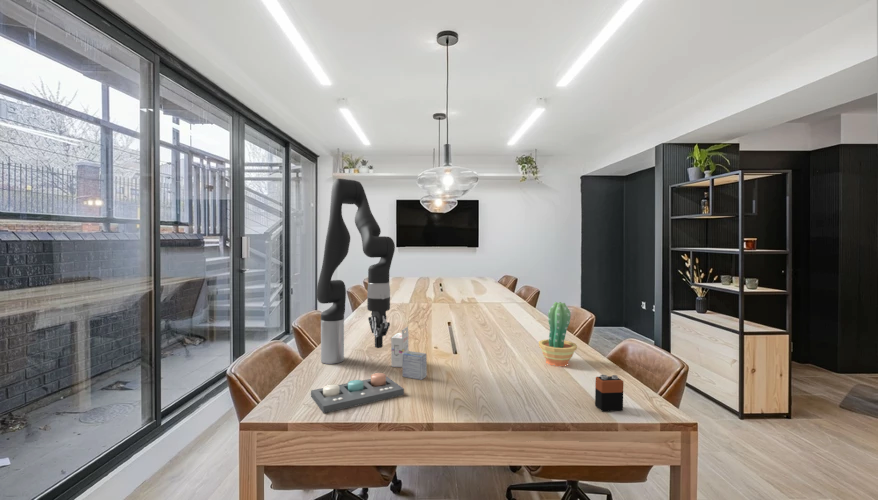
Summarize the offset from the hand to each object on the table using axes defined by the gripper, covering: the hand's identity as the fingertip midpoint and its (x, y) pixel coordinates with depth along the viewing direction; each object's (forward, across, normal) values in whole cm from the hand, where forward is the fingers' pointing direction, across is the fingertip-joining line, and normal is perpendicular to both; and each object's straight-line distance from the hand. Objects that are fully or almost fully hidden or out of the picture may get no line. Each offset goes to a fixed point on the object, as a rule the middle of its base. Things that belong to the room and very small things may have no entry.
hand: (378, 347), depth 131 cm
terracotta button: (+13, 0, 0) cm, 13 cm away
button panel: (+14, +2, -8) cm, 16 cm away
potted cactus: (+14, +12, +74) cm, 76 cm away
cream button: (+13, 0, -16) cm, 21 cm away
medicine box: (+14, -4, +16) cm, 22 cm away
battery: (+14, +50, +53) cm, 74 cm away
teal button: (+14, 0, -8) cm, 16 cm away
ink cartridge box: (+14, -20, +18) cm, 30 cm away
